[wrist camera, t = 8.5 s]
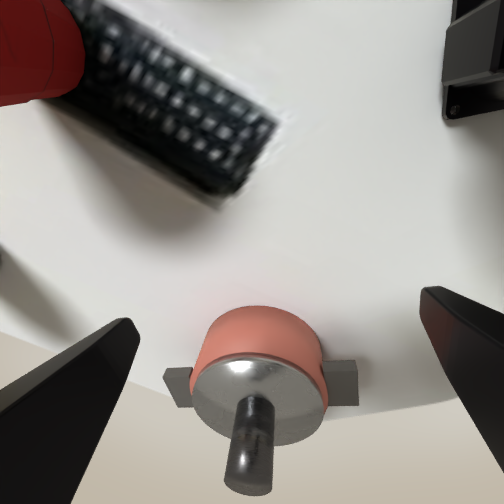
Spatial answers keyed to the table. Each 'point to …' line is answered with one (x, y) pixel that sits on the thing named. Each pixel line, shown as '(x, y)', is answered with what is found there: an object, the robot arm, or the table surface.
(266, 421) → the lid
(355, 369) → the pot
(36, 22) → the plastic cup
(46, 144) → the table surface
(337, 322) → the table surface
